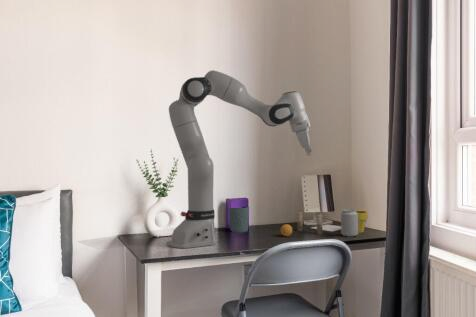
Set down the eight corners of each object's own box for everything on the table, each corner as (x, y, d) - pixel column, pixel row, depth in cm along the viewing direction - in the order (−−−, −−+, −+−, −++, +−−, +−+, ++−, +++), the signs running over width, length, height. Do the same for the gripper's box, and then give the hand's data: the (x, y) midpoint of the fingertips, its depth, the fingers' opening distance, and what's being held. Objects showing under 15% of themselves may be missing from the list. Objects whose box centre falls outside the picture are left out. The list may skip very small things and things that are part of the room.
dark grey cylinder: (231, 233, 228) (230, 208, 227) (227, 229, 238) (227, 206, 237) (251, 232, 230) (251, 207, 230) (246, 228, 240) (246, 205, 239)
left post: (300, 230, 231) (300, 212, 230) (296, 230, 233) (296, 212, 232) (303, 230, 232) (303, 212, 232) (299, 229, 234) (299, 211, 234)
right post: (319, 234, 221) (319, 215, 221) (315, 233, 223) (315, 214, 223) (323, 233, 222) (323, 214, 222) (319, 232, 224) (319, 214, 224)
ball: (286, 237, 213) (286, 225, 213) (278, 236, 218) (277, 224, 218) (294, 236, 217) (294, 224, 217) (286, 234, 221) (286, 223, 221)
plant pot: (370, 233, 221) (370, 212, 221) (348, 233, 221) (348, 213, 221) (365, 229, 231) (364, 209, 231) (343, 229, 231) (343, 210, 231)
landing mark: (331, 231, 227) (331, 231, 227) (309, 228, 238) (309, 227, 238) (349, 228, 236) (349, 227, 236) (327, 224, 247) (327, 224, 247)
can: (358, 237, 212) (358, 210, 211) (341, 237, 213) (341, 210, 213) (357, 234, 219) (357, 208, 219) (341, 234, 220) (340, 208, 220)
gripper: (295, 125, 226) (303, 152, 227) (292, 129, 206) (302, 159, 207) (307, 121, 224) (316, 148, 226) (306, 124, 205) (316, 154, 206)
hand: (309, 153), depth 216 cm, fingers open, 8 cm apart
